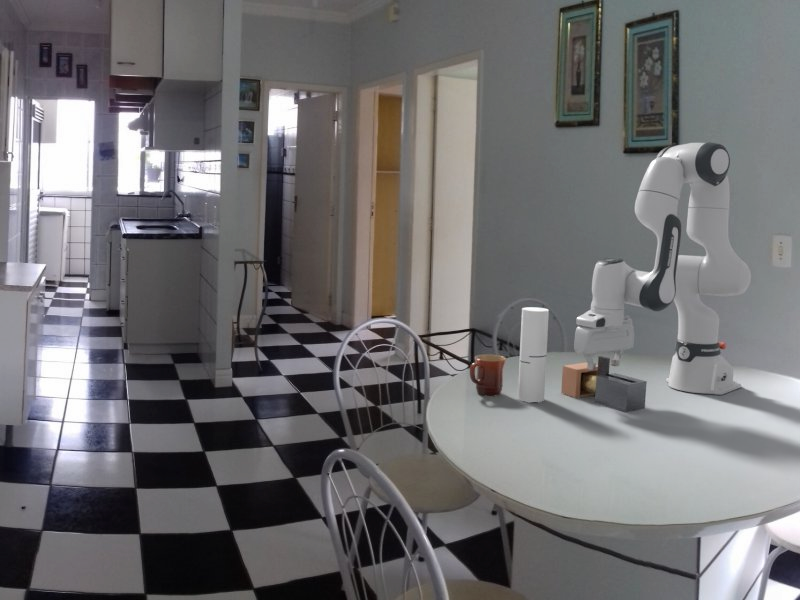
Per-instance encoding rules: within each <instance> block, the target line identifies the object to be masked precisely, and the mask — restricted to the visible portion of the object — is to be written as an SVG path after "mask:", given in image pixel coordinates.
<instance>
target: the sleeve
mask: <svg viewBox="0 0 800 600" xmlns="http://www.w3.org/2000/svg"><path fill="white" fill-rule="evenodd" d="M594 395H595V396H594V403H596V404H598V403H599V404H598V405H601V404H602V406H604V405H605V407H608V408H611V409H614V410H617V411H620V412H624V413H630V412H634V411H640V410H644V409H646V396H647V381H646V380H643V379H640V378H636V377H632V376H628V375H624V374H620V373H618V372H612V373H609V376H606V375H599V376H596V392H595V394H594Z"/></svg>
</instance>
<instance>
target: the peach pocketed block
mask: <svg viewBox="0 0 800 600" xmlns="http://www.w3.org/2000/svg"><path fill="white" fill-rule="evenodd" d="M587 364H588V363H587V361H586V362H580V363H574V364H573V363H571V364H566V365H562V370H561V371H562V373H561V374H562V375H561V393H560V394H562V393H563V394H562V395H565V394H566V395H565V396H568V395H569V396H568V397H571V396H572V398H574V399H576V398H577V399H578V398H582V397H588V396H594V395H595V394H593V393H590V392H587V391H583V390H580V382H581V373H582V372H585V373H588V374H592V375H596V376H597V373H598V364H596V369H594V370H589V369H588V368H587Z"/></svg>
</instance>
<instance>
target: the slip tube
mask: <svg viewBox="0 0 800 600" xmlns="http://www.w3.org/2000/svg"><path fill="white" fill-rule="evenodd" d="M610 364H611V358H610V357H606V356H604V355H600V356H598V360H597V365H598V373H597V376H599V375H606V376H609V374H610V366H611V365H610ZM580 390H583V391H587V392H590V393H593V394H594V395H595V392H596V375H592V374H588V373H585V372H582V373H581V382H580Z"/></svg>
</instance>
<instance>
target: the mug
mask: <svg viewBox="0 0 800 600" xmlns="http://www.w3.org/2000/svg"><path fill="white" fill-rule="evenodd" d="M474 360H475V362H473V363H472V364H471V365H469V366H470V367H469V378H470V380H471V381H472V382H473V384H475V389H476V392H477V393H478V394H479V395H480V394H481V396H484V395H487V396H486V397H496V396H495V395H497V396H499V395H501V394H502V391H503V386H504V385H503V384H504V383H503V382H504V368H505V367H504V366H505V364H506V361H507V358H506V357H505V356H502V355H498V354H478V355H477V354H476V355H475V356H474Z"/></svg>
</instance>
